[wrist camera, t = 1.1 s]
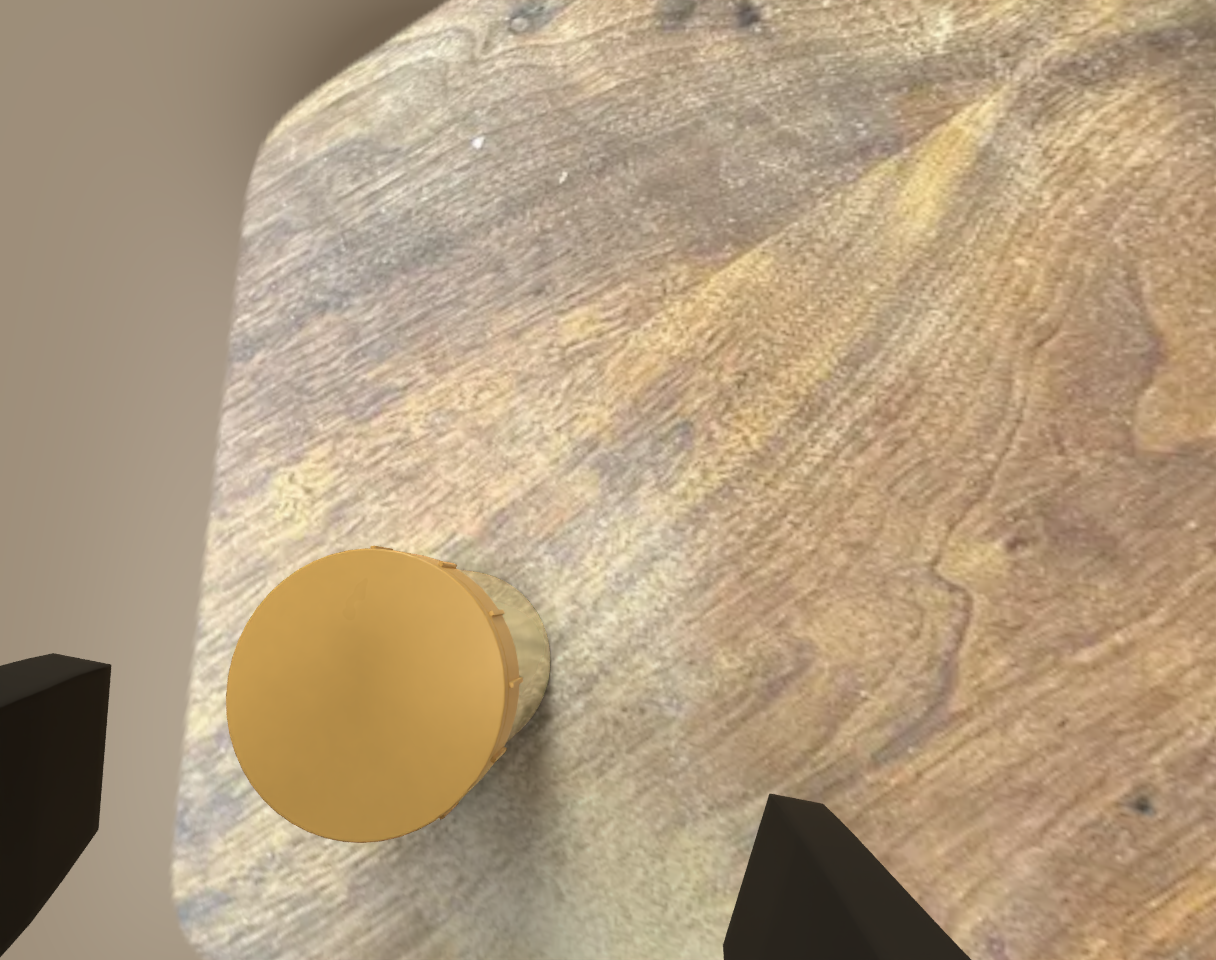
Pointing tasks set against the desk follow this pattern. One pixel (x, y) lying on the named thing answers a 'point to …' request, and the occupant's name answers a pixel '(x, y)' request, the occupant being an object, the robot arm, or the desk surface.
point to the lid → (371, 693)
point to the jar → (521, 643)
